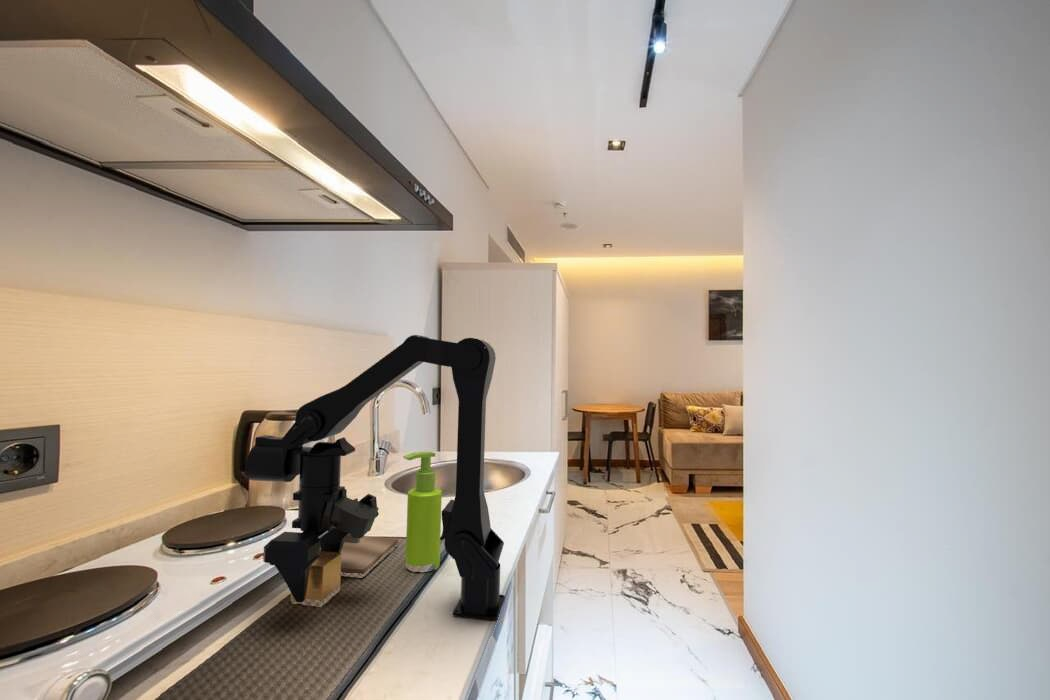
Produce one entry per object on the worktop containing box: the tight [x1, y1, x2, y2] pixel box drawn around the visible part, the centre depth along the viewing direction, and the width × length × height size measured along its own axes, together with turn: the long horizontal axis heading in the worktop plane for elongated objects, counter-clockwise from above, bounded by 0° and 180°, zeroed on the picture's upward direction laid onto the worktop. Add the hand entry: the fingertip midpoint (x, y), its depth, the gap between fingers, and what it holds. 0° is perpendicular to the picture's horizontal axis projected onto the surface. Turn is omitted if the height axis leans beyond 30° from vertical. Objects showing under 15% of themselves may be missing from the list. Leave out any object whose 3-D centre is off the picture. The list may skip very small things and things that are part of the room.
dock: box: [319, 534, 399, 574], centre depth 87 cm, size 14×14×3 cm
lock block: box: [290, 551, 342, 600], centre depth 73 cm, size 5×5×6 cm
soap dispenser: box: [402, 451, 443, 571], centre depth 84 cm, size 6×7×20 cm
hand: (316, 586), depth 73 cm, fingers open, 9 cm apart
